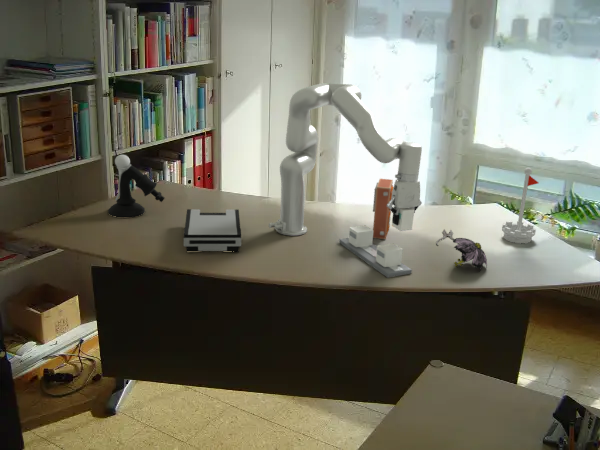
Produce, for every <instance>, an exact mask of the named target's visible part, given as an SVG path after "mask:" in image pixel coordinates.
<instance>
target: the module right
mask: <svg viewBox="0 0 600 450" xmlns="http://www.w3.org/2000/svg"><path fill="white" fill-rule="evenodd" d="M376 246H377V253H376V262H378V263H379V264H381V265H382V266H383V267H390V266H396V265H401V263H403V262H402V260H403V250H404V249H403V248H402V247H400V246H398V245H397V244H396V243H387V244H386V243H385V244H380V245H376Z"/></svg>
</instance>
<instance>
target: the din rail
mask: <svg viewBox="0 0 600 450" xmlns="http://www.w3.org/2000/svg"><path fill="white" fill-rule="evenodd" d="M347 239H349V237H347ZM360 248H362V249H363V250H364V251H366V252H367V253H369V254H370V255H372V256H373V257H374V258H376V253H377V251H375V250H374V249H372V248H371V247H369V246H363V247H360ZM389 268H390V269H392V270H393V271H395V272H396V271H402V270H403V269H402V268H400V267H399V266H397V265H396V266H390V267H389Z"/></svg>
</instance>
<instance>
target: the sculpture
mask: <svg viewBox="0 0 600 450" xmlns="http://www.w3.org/2000/svg"><path fill="white" fill-rule="evenodd" d="M114 164H115V167H116V169H117V170H118V189H117V190H118V194H117V195H116V197H115V199H114V201H116V203H114V204H113V205H111V206H110V208H108V210H107V214H108V213H109V214H110V215H112V216H111V217H113V216H116V217H115V218H117V217H132V218H136V217H135V216H138V217H140V216H142V215H144V214H145V213H144V212H146V211H145V209H146V208H145V207H144V206H142V204H140V203H138V202H136V199H135V198H133V196H132V193H131V185H130V183H131V180H133V181H134V182H135V187H137V188H139V189H140V190H141V191H142V192H143V195H144V197H146V196H149V195H153V196H154V199H155V200H156V201H159V202H161V203H162V202H163V201H164V200H165V199H166V198H165V197H164V196H163V195H162V193H161V191H157V190H156V187H157V184H158V182H155V181H153V180H151V179H150V178H149V176H148V175H147V173H145V174H143V173H142V172H141V171H140V170H139V169H138V168H137V167H136V166H134V165H132V164H131V159H130V158H129V156H128V155H127V154H119V155H117V156H116V157H115V159H114ZM143 213H144V214H143ZM109 214H108V215H109ZM141 214H142V215H141ZM110 215H109V216H110ZM139 215H140V216H139Z"/></svg>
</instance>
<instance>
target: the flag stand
mask: <svg viewBox="0 0 600 450" xmlns="http://www.w3.org/2000/svg"><path fill="white" fill-rule="evenodd" d="M523 171H524V172H523V173H524V175H525V176H524V183H523V187H522V196H521V203H520V206H519V207H520V209H519V212H518V213H519V214H518V219H517V221H516V223H513V221H512V220H509V221H506V222H505V223H504V222H503V223H502V226H501V231H502V232H503V239H504V240H506V241H508V242H510V243H514V242H515V243H514V244H521V243H525V244H529V243H528V242H530V241H531V242H532V239H533V237H534V236H535V235H536V231H537V227H534V225H533V224H531V223H527V225H526V224H524V222H523V218H524V211H525V205H526V199H527V192H528V187H529V186H534V185H537V184H539V181H537V180H536V179H535V178H533V177H532V176H531V175H532V173H533V169H532V168H531V167H526V168H524V170H523ZM531 242H530V243H531Z"/></svg>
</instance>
